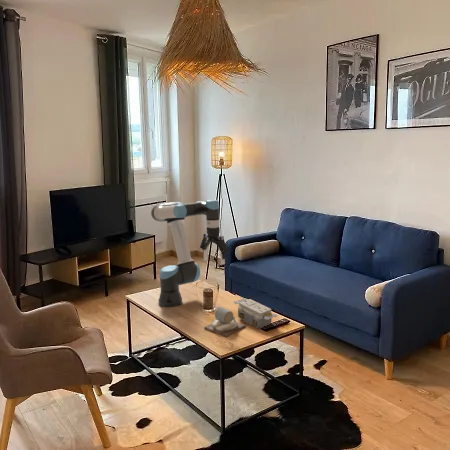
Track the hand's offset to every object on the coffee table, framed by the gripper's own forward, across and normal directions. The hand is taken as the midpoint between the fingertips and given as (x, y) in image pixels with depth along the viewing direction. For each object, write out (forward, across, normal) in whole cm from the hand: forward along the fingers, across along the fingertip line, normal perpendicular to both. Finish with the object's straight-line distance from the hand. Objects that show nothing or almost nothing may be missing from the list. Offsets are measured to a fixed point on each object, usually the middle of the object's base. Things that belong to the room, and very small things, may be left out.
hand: (214, 262), depth 263 cm
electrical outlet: (+32, +26, +5) cm, 41 cm away
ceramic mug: (+28, +18, -11) cm, 35 cm away
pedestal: (+32, +18, -12) cm, 38 cm away
